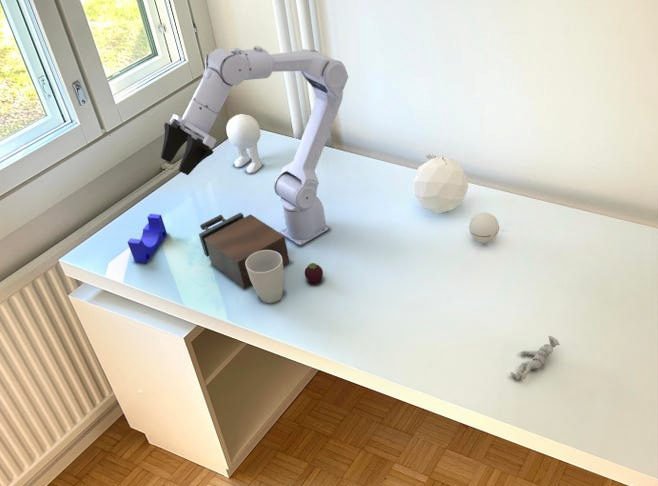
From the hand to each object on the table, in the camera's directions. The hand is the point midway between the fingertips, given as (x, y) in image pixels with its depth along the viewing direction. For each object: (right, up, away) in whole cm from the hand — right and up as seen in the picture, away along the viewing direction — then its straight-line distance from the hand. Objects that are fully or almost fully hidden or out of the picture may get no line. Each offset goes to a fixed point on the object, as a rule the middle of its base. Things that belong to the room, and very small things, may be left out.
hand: (174, 166), depth 151 cm
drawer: (+5, -13, +30) cm, 33 cm away
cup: (+16, -25, +19) cm, 35 cm away
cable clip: (-17, -12, +33) cm, 39 cm away
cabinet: (+10, -17, +27) cm, 33 cm away
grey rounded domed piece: (+68, -11, +31) cm, 75 cm away
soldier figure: (+74, -41, 0) cm, 85 cm away
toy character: (+2, +16, +59) cm, 62 cm away
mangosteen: (+26, -21, +22) cm, 40 cm away
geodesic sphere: (+56, 0, +42) cm, 70 cm away
